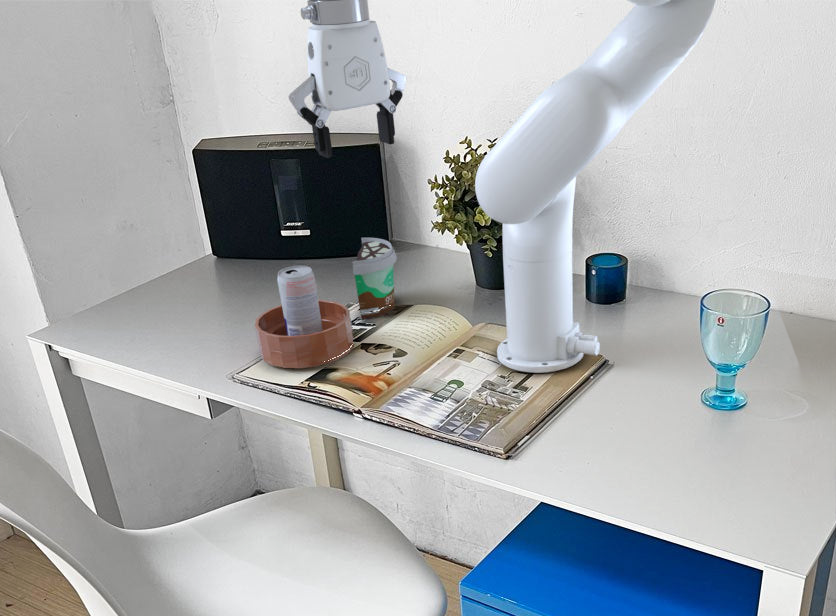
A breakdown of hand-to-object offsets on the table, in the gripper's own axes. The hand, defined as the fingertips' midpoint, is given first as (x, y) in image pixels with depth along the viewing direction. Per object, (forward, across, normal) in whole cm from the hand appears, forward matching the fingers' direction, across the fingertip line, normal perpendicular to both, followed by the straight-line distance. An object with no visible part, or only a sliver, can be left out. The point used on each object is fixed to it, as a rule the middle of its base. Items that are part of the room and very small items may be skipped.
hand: (356, 149), depth 137 cm
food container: (+28, +6, +11) cm, 31 cm away
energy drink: (+28, -11, +3) cm, 30 cm away
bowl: (+28, -11, +3) cm, 30 cm away
